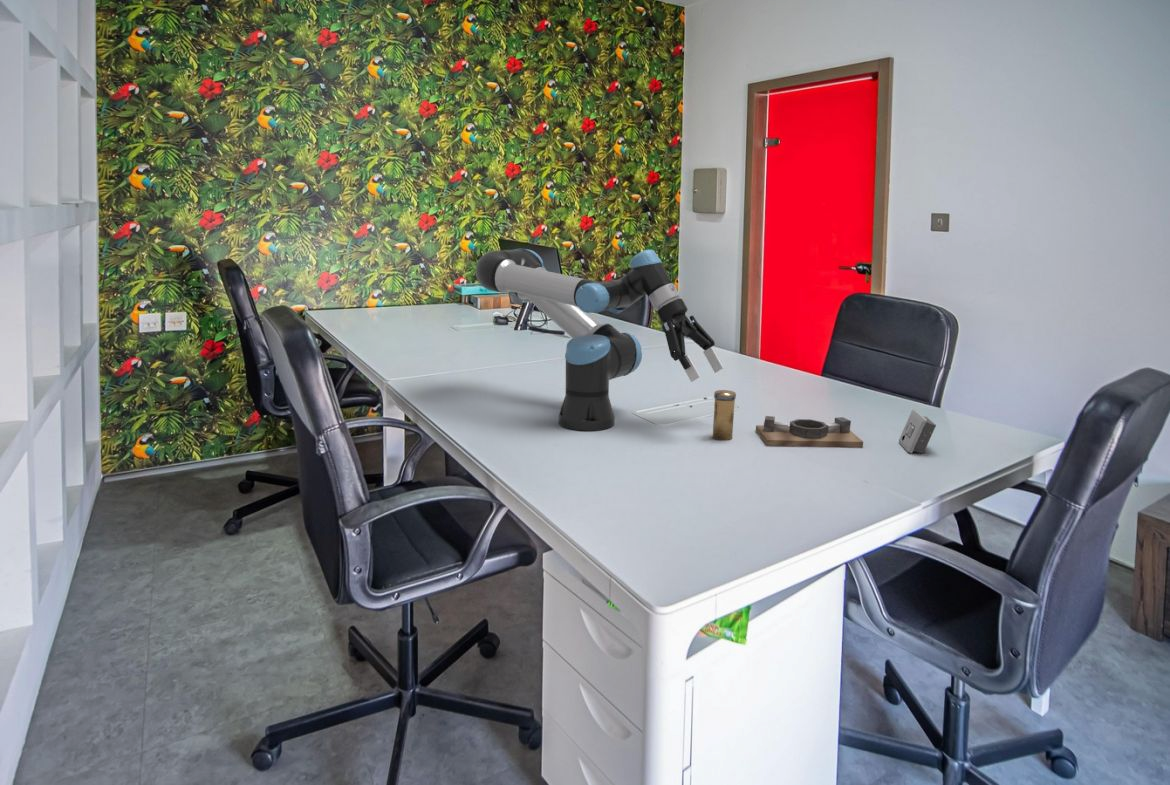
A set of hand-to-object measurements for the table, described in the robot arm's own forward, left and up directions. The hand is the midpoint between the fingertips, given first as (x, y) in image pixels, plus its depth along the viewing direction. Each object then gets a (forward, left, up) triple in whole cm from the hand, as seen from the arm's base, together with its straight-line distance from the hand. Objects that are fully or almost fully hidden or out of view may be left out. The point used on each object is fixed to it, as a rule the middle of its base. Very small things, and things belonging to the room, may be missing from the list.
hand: (708, 374), depth 201 cm
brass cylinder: (+6, -2, -15) cm, 17 cm away
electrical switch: (+48, +19, -16) cm, 54 cm away
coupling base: (+24, +10, -15) cm, 30 cm away
